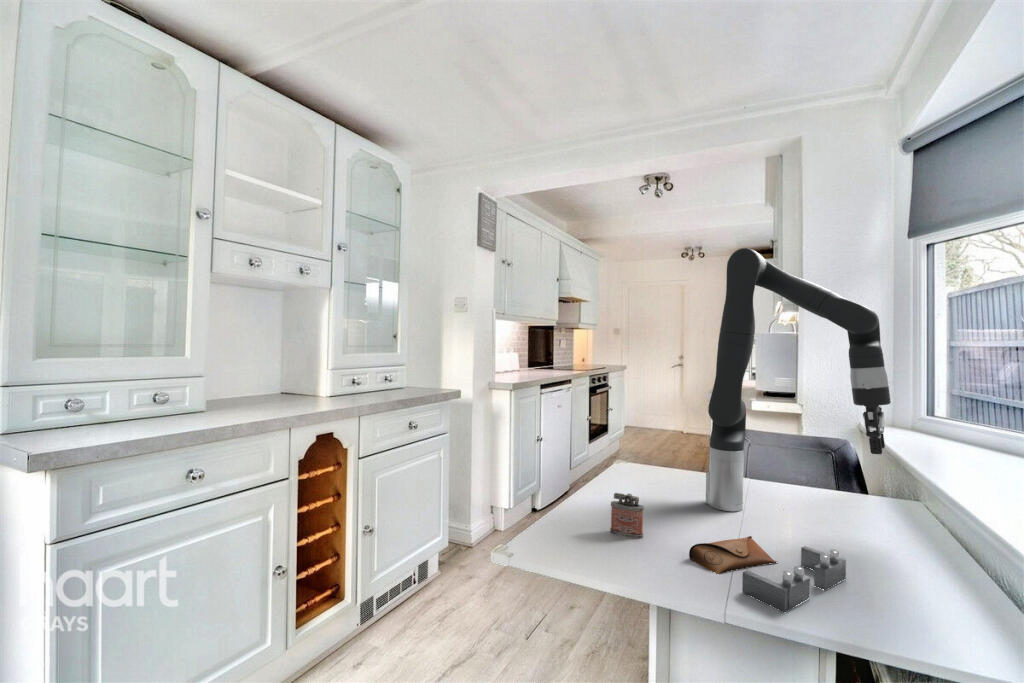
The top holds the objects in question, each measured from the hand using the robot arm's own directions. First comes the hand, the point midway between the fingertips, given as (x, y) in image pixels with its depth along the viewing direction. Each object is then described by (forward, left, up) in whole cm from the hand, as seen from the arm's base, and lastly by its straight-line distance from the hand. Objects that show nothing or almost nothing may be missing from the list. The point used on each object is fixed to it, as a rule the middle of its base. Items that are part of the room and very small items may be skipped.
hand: (878, 450), depth 120 cm
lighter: (-34, -52, -22) cm, 66 cm away
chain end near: (+2, -50, -22) cm, 54 cm away
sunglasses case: (-11, -42, -23) cm, 49 cm away
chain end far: (+2, -35, -22) cm, 41 cm away
